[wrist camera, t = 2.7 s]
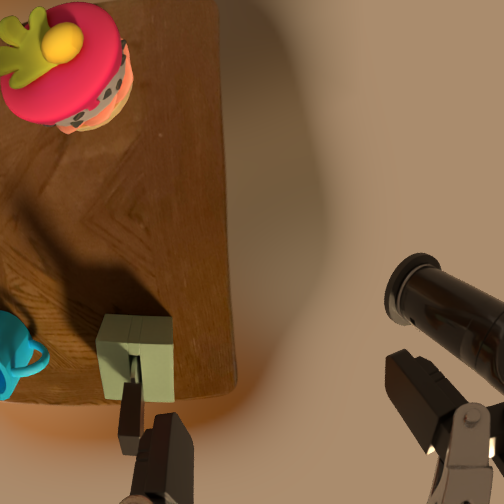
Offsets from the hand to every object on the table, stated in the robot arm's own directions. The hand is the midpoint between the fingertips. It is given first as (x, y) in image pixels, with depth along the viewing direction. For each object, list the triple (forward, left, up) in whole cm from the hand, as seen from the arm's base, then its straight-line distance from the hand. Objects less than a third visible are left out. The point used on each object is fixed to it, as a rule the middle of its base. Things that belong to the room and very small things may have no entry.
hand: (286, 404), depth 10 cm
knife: (+8, +13, -25) cm, 29 cm away
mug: (+25, +14, -25) cm, 38 cm away
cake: (+15, -16, -25) cm, 33 cm away
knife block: (+8, +13, -25) cm, 29 cm away
